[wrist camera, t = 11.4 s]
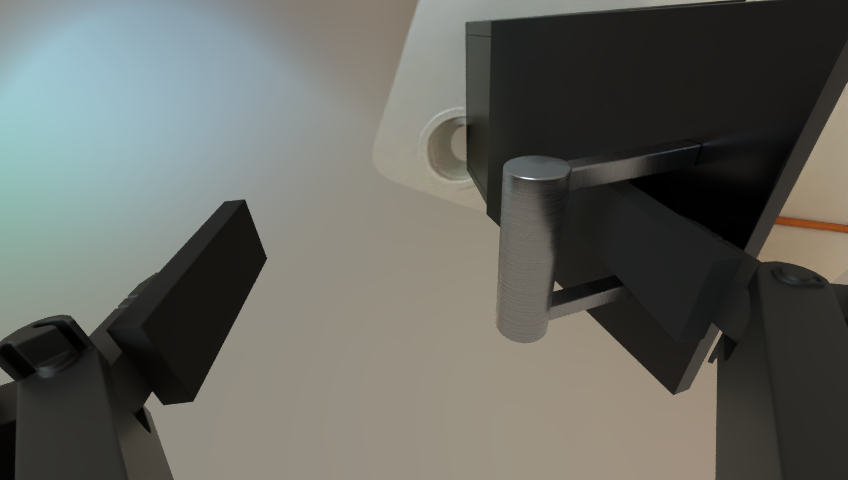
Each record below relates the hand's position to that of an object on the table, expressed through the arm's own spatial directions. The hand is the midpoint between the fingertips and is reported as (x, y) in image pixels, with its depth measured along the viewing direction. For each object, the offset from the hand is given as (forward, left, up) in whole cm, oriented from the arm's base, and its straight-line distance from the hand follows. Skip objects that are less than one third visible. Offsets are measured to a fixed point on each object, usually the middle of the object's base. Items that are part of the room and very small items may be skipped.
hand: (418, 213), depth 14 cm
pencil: (0, +51, -22) cm, 55 cm away
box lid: (-3, +8, -3) cm, 9 cm away
